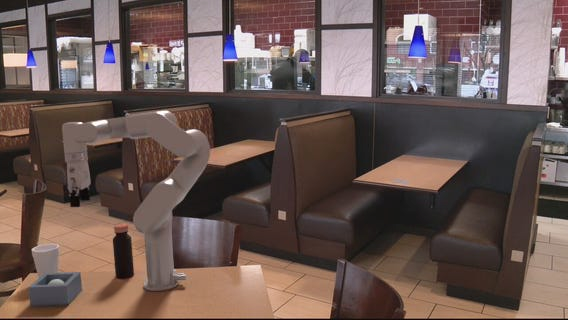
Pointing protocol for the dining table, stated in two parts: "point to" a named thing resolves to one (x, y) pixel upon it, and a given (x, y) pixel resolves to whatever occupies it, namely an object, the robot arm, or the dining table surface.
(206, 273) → the dining table surface
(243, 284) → the dining table surface
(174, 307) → the dining table surface
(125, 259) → the bottle
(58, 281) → the ball
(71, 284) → the blue-grey open box
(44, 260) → the foam cup
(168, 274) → the robot arm
